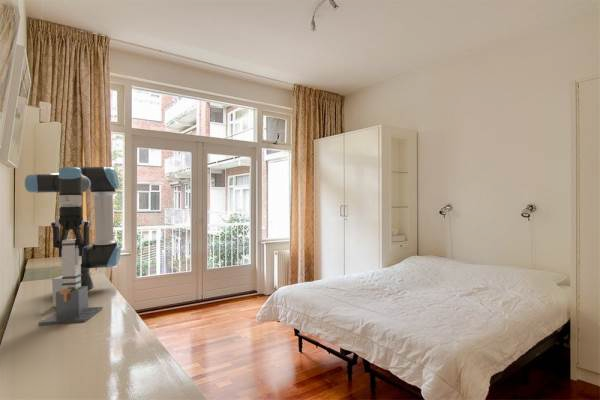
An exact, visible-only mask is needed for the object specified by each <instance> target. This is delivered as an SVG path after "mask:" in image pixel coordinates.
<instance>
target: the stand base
mask: <svg viewBox="0 0 600 400" xmlns="http://www.w3.org/2000/svg"><path fill="white" fill-rule="evenodd" d="M88 291H89V289H88V286H82V288H80V289H78V290H71V289H65V290H63V289H61V290H59V291H57V292H56V307H55V312H54V313H52V314H50V315H49V316H47V317H45V318H44V319H43V320H41V321H39V322H38V326H46V325H47V326H49V325H60V324H61V325H62V324H74V323H76V324H77V323H86V322H88V321H89V320H90V319H91V318H93V317H94V316H95V315H97V314H98V313H99V312H100V311H102V310H103V306H93V307H92V306H90V307H89V297H88V296H89V294H88V293H89V292H88Z"/></svg>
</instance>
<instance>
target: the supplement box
mask: <svg viewBox="0 0 600 400" xmlns="http://www.w3.org/2000/svg"><path fill="white" fill-rule="evenodd" d="M62 277H63V275H60V276H57V277H54V278H51V281H52V282H51V283H52V307H53V308H56V292H57V291H59V290H61V289H63V286H62V283H63V279H62Z"/></svg>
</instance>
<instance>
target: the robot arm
mask: <svg viewBox="0 0 600 400" xmlns="http://www.w3.org/2000/svg"><path fill="white" fill-rule="evenodd" d="M119 184H120V183H119V176H118V173H117V171H116V169H115V168H114V167H111V166H110V167H109V166H77V167H75V166H73V167H72V166H62V167H60V168H59V169H58V172H51V173H43V174H40V173H38V174H37V173H35V174H28V175H26V177H25V178H24V187H25V190H26V191H27V192H28V193H37V194H38V193H40V194H41V193H42V194H43V193H58V198H59V199H58V200H59V201H58V202H59V203H58V204H59V206H60V207H59V209H58V210H59V211H58V212H59V219H58V221H55V222H51V224H50V225H51V228H52V239H53V240H52V241H53V243H52V244H53V245H52V246H53V247H54V248H55V249H56V248H57V249H58V251H59V252H58V253H59V254H58V256H59V258H61V266H62V267H63V255H62V246H61V244H62V240H66V239H68V235H69V232H70V230H72V232H73V234H74V237H75V239H76V241H77V245H78V247H77V249H76V265H80V264H81V274H82V276H81V280H82V282H81V286H88V290H91V289H93V288H94V282H93V279H92V277H91V274H90V269H100V268H101V269H102V268H107V269H108V268H114V267H117V265H118V264H119V262H120V258H121V251H122V249H121V245H120V244H118V241H117V240H115V238H114V212H113V211H114V210H113V208H114V205H113V203H114V202H113V195H114V194H115V193H116V189H119ZM87 191H89V192H90V193H91V194H92V195H93V205H94V206H93V207H94V208H93V209H94V210H93V211H94V234H95V235H94V237H95V240H94V241H93V242H92V244H91V246H90V226H91V221H87V220H85V219H84V218H83V207H82V205H83V197H82V194H83V193H85V192H87ZM81 225H82V232H81ZM60 226H61V227H62V229H60ZM60 230H61V235H60Z"/></svg>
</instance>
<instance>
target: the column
mask: <svg viewBox="0 0 600 400" xmlns="http://www.w3.org/2000/svg"><path fill="white" fill-rule="evenodd" d="M61 246H62V255H63V266H62V276H63V277H62V279H63V283H62V286H63V290H65V289H71V290H78V289H80V288H82V286H81V282H82V280H81V276H82V274H81V264H80V265H76V249H77V247H78V245H77V241H76V238H67V239H66V240H62V244H61Z"/></svg>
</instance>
